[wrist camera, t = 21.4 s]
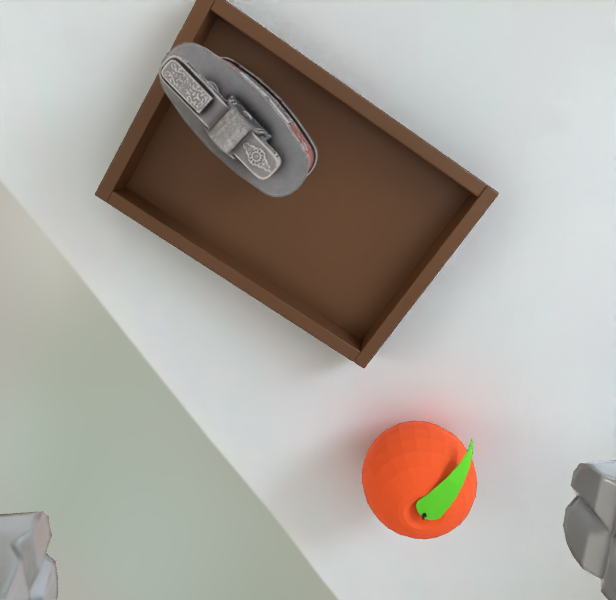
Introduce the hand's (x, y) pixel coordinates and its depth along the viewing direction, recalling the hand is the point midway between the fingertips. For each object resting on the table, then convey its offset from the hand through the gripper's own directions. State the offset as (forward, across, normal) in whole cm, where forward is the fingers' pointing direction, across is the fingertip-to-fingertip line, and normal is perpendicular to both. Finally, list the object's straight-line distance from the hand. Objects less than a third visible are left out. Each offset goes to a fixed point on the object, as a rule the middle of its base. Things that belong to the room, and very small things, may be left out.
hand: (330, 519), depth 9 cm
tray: (+27, +4, +1) cm, 27 cm away
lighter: (+27, +2, +5) cm, 28 cm away
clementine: (+25, +12, -16) cm, 32 cm away
